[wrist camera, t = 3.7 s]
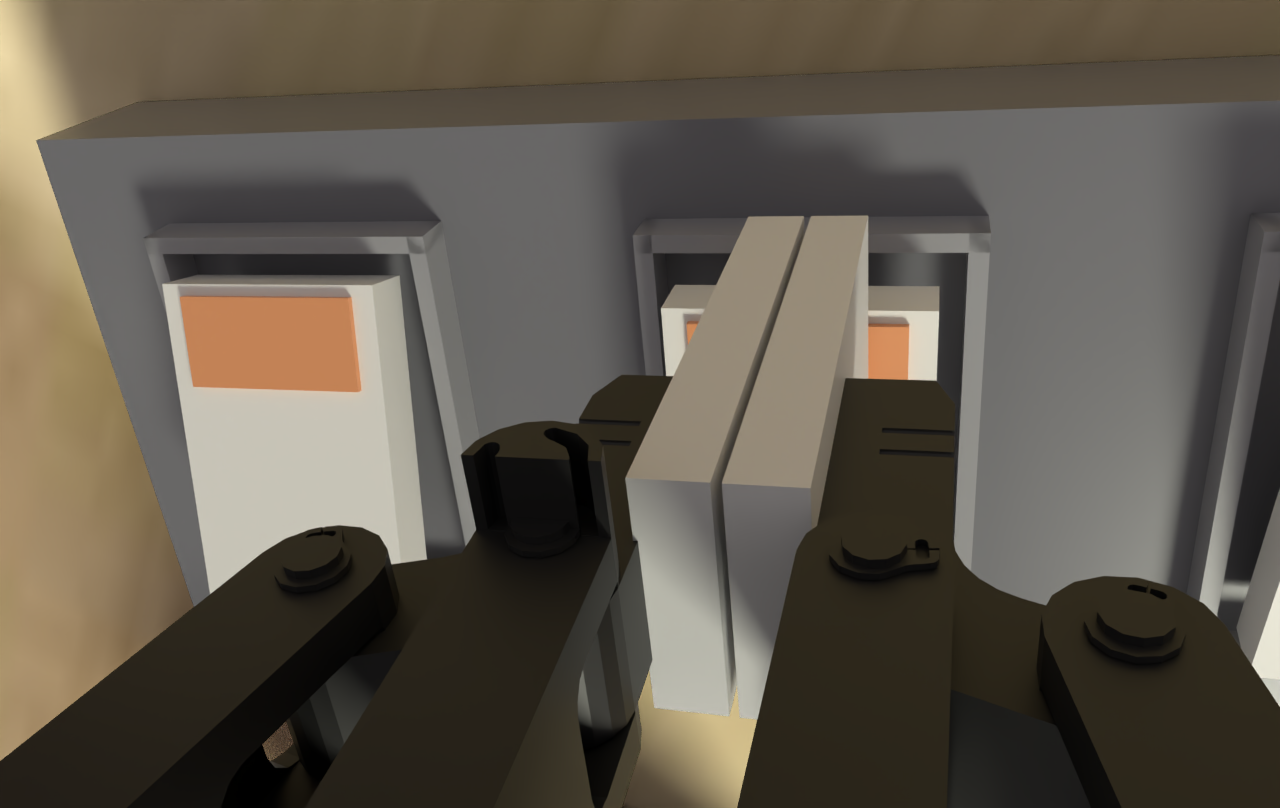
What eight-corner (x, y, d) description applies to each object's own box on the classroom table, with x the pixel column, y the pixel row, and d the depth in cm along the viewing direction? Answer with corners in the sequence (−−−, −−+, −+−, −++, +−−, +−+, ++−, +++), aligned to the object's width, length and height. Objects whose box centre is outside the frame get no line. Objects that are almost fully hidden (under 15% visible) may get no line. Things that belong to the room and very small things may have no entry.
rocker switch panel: (266, 544, 28) (178, 643, 25) (137, 102, 23) (4, 152, 20) (1583, 639, 21) (1700, 792, 18) (1814, 32, 16) (2035, 92, 13)
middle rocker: (698, 617, 20) (686, 656, 19) (675, 285, 17) (658, 310, 16) (925, 635, 19) (925, 678, 18) (939, 286, 16) (938, 314, 15)
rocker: (244, 597, 22) (210, 623, 21) (198, 274, 20) (157, 284, 19) (432, 613, 21) (406, 641, 20) (399, 275, 19) (368, 286, 18)
